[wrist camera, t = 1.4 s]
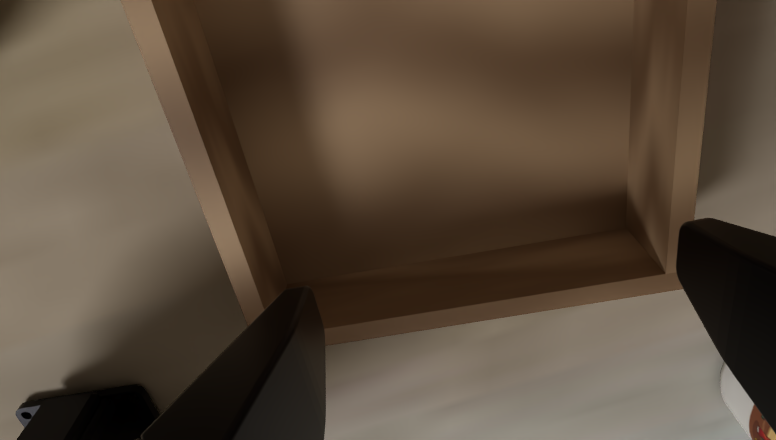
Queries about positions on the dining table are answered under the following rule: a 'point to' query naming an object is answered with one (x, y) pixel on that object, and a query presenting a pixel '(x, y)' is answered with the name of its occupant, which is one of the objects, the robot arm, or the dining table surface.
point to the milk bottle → (744, 407)
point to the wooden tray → (436, 149)
